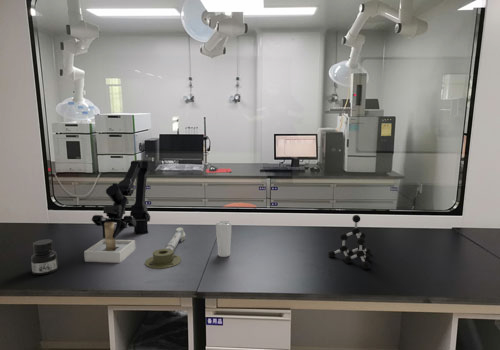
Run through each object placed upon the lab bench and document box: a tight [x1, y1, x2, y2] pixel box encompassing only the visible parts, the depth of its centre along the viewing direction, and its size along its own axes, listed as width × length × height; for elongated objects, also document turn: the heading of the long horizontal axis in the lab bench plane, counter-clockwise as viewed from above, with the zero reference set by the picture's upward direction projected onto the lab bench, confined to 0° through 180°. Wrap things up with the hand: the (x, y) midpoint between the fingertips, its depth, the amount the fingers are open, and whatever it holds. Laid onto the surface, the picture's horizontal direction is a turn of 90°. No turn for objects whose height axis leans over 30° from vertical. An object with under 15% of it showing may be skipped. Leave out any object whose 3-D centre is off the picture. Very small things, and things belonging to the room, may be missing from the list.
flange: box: [144, 248, 183, 270], centre depth 148 cm, size 5×15×15 cm
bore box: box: [83, 238, 136, 264], centre depth 155 cm, size 16×16×4 cm
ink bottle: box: [30, 238, 59, 276], centre depth 138 cm, size 10×9×12 cm
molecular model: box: [327, 214, 372, 270], centre depth 150 cm, size 18×20×20 cm
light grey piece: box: [164, 227, 186, 253], centre depth 166 cm, size 5×7×25 cm
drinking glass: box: [215, 220, 232, 258], centre depth 154 cm, size 7×7×15 cm
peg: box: [104, 222, 116, 251], centre depth 154 cm, size 4×4×13 cm
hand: (108, 237), depth 153 cm, fingers closed on peg, 4 cm apart
